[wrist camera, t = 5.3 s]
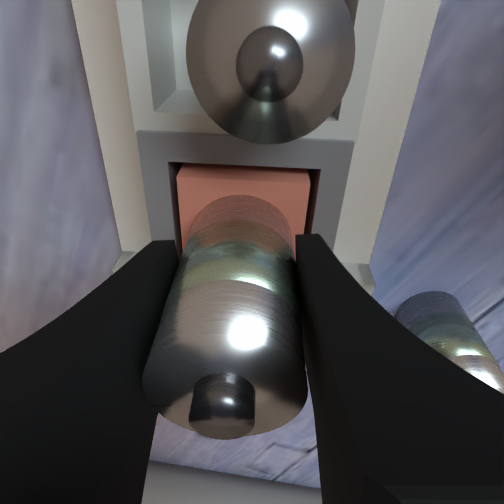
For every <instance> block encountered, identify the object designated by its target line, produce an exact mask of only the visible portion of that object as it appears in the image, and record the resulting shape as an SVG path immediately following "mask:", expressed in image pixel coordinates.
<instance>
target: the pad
mask: <svg viewBox="0 0 504 504" xmlns="http://www.w3.org/2000/svg"><path fill="white" fill-rule="evenodd" d="M176 178H177V190H178V201H179V213H180V224H181V236H182V248H183V250H184V248H185V246H186V243H187V240H188V237H189V234H190V231H191V228H192V225H193V222H194V220H195V218H196V216H197V215H198V214H199V212H200V211H201V210H202V209H203V208H204V207H205V206H207V205H208V204H209V203H211V202H213V201H214V200H217V199H219V198H222V197H226V196H231V195H249V196H254V197H258V198H260V199H263V200H265V201H267V202H269V203H271V204H272V205H274V206H275V207H276V208H277V209H279V210H280V211H281V212H282V214H283V215H284V216H285V218H286V219H287V221H288V223H289V225H290V228H291V231H292V238H293V248H294V257H295V235H296V234H304V227H305V220H306V212H307V205H308V198H309V191H310V179H309V175H308V170H307V168H288V167H268V166H248V165H228V164H207V163H187V162H184V163H183V165H182V167H181V169H180V171H179V173H178V175H177V177H176ZM295 262H296V258H295Z"/></svg>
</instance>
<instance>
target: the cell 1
mask: <svg viewBox="0 0 504 504" xmlns="http://www.w3.org/2000/svg"><path fill="white" fill-rule="evenodd" d="M142 386H143V391H144V394H145V396H146V398H147V400H148V401H149V403H150V404H151V405H152V406H153V408H154V409H155V410H157V411H158V412H159V413H160V414H161V415H162V416H164V417H165V418H167V419H168V420H170V421H171V422H173V423H175V424H177V425H179V426H182V427H184V428H187V429H189V430H192V431H196V432H198V433H200V434H202V435H204V436H206V437H210V438H214V439H222V440H228V439H236V438H240V437H243V436H250V435H256V434H261V433H265V432H268V431H271V430H274V429H276V428H279V427H281V426H283V425H285V424H286V423H288V422H289V421H291V420H292V419H293V418H294V417H295V416H297V415H298V414H299V412H300V411H301V410H302V408H303V407H304V405H305V403H306V399H307V395H308V386H307V376H306V366H305V356H304V346H303V328H302V318H301V308H300V299H299V290H298V281H297V271H296V262H295V257H294V248H293V238H292V231H291V228H290V225H289V223H288V221H287V219H286V218H285V216H284V215H283V214H282V212H281V211H280V210H279V209H277V208H276V207H275V206H274V205H272V204H271V203H269V202H267V201H265V200H263V199H260V198H258V197H254V196H249V195H231V196H226V197H222V198H219V199H217V200H214V201H213V202H211V203H209V204H208V205H207V206H205V207H204V208H203V209H202V210H201V211H200V212H199V214H198V215H197V216H196V218H195V220H194V222H193V225H192V228H191V231H190V234H189V237H188V240H187V243H186V246H185V248H184V250H183V253H182V256H181V259H180V262H179V265H178V268H177V271H176V273H175V276H174V279H173V282H172V285H171V288H170V291H169V294H168V297H167V300H166V303H165V306H164V309H163V312H162V315H161V320H160V324H159V327H158V330H157V333H156V336H155V339H154V342H153V345H152V348H151V351H150V354H149V357H148V360H147V363H146V366H145V369H144V372H143V376H142Z"/></svg>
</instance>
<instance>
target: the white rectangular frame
mask: <svg viewBox="0 0 504 504" xmlns="http://www.w3.org/2000/svg"><path fill="white" fill-rule="evenodd" d="M71 1H72V6H73V11H74V16H75V21H76V26H77V31H78V36H79V41H80V46H81V51H82V56H83V61H84V66H85V71H86V76H87V80H88V85H89V90H90V95H91V100H92V105H93V110H94V115H95V120H96V125H97V130H98V135H99V140H100V145H101V150H102V155H103V160H104V165H105V170H106V175H107V180H108V184H109V189H110V194H111V199H112V204H113V209H114V214H115V219H116V224H117V229H118V234H119V239H120V244H121V249H122V254H121V256H120V257H119V259H118V261H117V263H116V264H115V266H114V268H113V270H112V272H113V274H114V273H115V272H116V271H117V270H118V269H120V268H121V267H122V266H123V265H124V264H125V263H127V262H128V261H129V260H130V259H131V258H132V257H133V256H135V255H136V254H137V253H138V252H139V251H140V250H142V249H143V248H144V247H145V246H146V245H148V244H149V243H150V242H152V241H155V240H175V244H176V249H177V253H178V257H179V262H180V259H181V256H182V253H183V248H182V236H181V224H180V213H179V201H178V190H177V178H176V177H177V175H178V173H179V171H180V169H181V167H182V165H183V163H184V162H187V163H207V164H228V165H248V166H268V167H288V168H307V170H308V175H309V179H310V191H309V198H308V205H307V212H306V220H305V227H304V234H320V235H321V236H322V237H323V239H324V240H325V242H326V243H327V245H328V246H329V248H330V249H331V250H332V252H333V253H334V254H335V256H336V257H337V258H338V259H339V261H340V262H341V263H342V264H343V266H344V267H345V268H346V269H347V270H348V272H349V273H350V274H351V275H352V276H353V277H354V278H355V280H356V281H357V282H358V283H359V284H360V285H361V286H362V287H363V288H364V289H365V290H366V291H367V292H368V293H369V294H370V295H371V296H372V294H373V290H374V287H375V282H374V279H373V276H372V274H371V271H370V268H369V262H370V258H371V255H372V251H373V247H374V244H375V240H376V236H377V233H378V229H379V225H380V222H381V218H382V214H383V211H384V207H385V203H386V200H387V196H388V193H389V189H390V185H391V182H392V178H393V174H394V171H395V167H396V163H397V160H398V156H399V152H400V149H401V145H402V141H403V138H404V134H405V130H406V127H407V123H408V119H409V116H410V112H411V108H412V105H413V101H414V98H415V94H416V90H417V87H418V83H419V79H420V76H421V72H422V68H423V65H424V61H425V57H426V54H427V50H428V46H429V43H430V39H431V35H432V32H433V28H434V24H435V21H436V17H437V14H438V10H439V6H440V3H441V0H344V1H345V3H346V5H347V7H348V10H349V12H350V16H351V19H352V22H353V28H354V34H355V61H354V67H353V72H352V76H351V79H350V82H349V85H348V87H347V90H346V92H345V94H344V96H343V98H342V100H341V101H340V103H339V105H338V106H337V107H336V109H335V110H334V111H333V113H332V114H331V115H330V116H329V117H328V118H327V119H326V120H325V121H324V122H323V123H322V124H321V125H320V126H319V127H317V128H316V129H315V130H313V131H312V132H310V133H309V134H307V135H305V136H303V137H301V138H299V139H296V140H293V141H290V142H286V143H281V144H271V145H266V144H256V143H251V142H247V141H244V140H241V139H239V138H237V137H235V136H233V135H231V134H229V133H228V132H226V131H225V130H223V129H222V128H221V127H219V126H218V125H217V124H216V123H215V122H214V121H213V120H212V119H211V118H210V117H209V116H208V115H207V113H206V112H205V111H204V109H203V108H202V106H201V105H200V103H199V101H198V99H197V98H196V95H195V93H194V91H193V88H192V86H191V82H190V79H189V75H188V70H187V64H186V39H187V33H188V28H189V24H190V20H191V17H192V14H193V12H194V9H195V7H196V5H197V3H198V1H199V0H71ZM305 366H306V365H305ZM306 371H307V370H306Z"/></svg>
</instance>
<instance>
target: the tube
mask: <svg viewBox="0 0 504 504" xmlns="http://www.w3.org/2000/svg"><path fill="white" fill-rule="evenodd" d="M141 504H322V495H321V489H319V488H313V487H307V486H301V485H295V484H289V483H283V482H277V481H271V480H265V479H259V478H253V477H246V476H240V475H234V474H228V473H222V472H216V471H210V470H204V469H198V468H192V467H186V466H180V465H174V464H168V463H162V462H156V461H150V460H149V462H148V468H147V473H146V479H145V485H144V491H143V497H142V503H141Z"/></svg>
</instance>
